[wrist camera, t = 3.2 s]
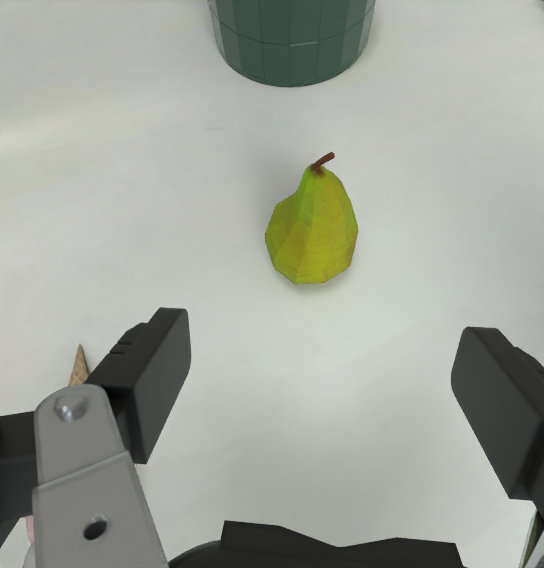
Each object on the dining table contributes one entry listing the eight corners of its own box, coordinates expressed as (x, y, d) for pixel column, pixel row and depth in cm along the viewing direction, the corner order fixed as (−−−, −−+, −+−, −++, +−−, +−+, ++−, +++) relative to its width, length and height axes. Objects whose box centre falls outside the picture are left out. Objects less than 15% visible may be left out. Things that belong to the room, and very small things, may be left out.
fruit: (298, 205, 29) (303, 67, 18) (368, 244, 28) (421, 121, 16) (250, 267, 27) (222, 158, 16) (322, 313, 26) (346, 227, 15)
